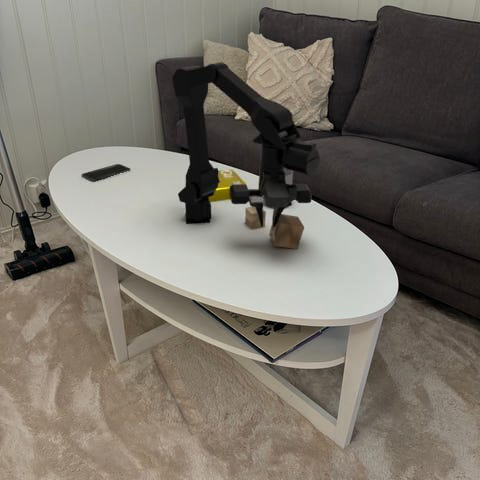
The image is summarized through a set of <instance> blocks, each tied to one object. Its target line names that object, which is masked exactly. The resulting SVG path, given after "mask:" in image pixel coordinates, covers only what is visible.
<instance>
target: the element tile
mask: <svg viewBox="0 0 480 480" xmlns="http://www.w3.org/2000/svg"><path fill="white" fill-rule="evenodd" d="M218 177H219V181H220V183H218V188H217V189H216V190H215V192H214V195H213V196H211V197H209V201H210V202H211V203H214V202H220V201H229V200H230V201H231V199H230V195H229V190H230V186H231V185H234V184H246V182H245V181H244V180H243V179H242V178H241V177H240V176H239V174H238V173H236V172H235V171H234V170H233V169H225V170H224V169H223V170H218ZM246 185H247V184H246Z"/></svg>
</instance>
